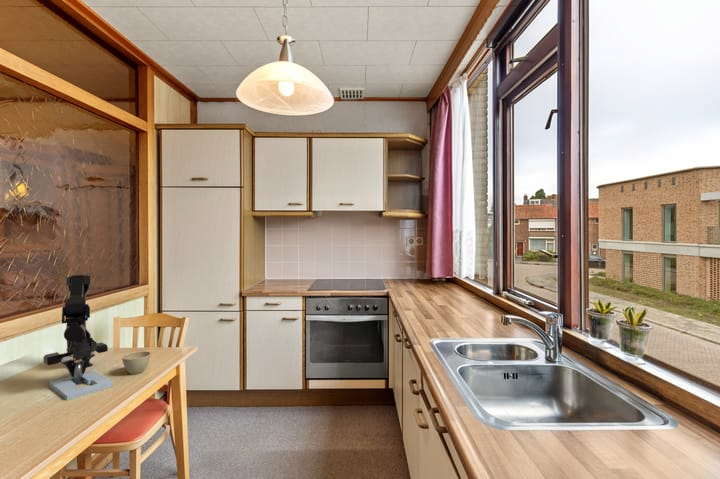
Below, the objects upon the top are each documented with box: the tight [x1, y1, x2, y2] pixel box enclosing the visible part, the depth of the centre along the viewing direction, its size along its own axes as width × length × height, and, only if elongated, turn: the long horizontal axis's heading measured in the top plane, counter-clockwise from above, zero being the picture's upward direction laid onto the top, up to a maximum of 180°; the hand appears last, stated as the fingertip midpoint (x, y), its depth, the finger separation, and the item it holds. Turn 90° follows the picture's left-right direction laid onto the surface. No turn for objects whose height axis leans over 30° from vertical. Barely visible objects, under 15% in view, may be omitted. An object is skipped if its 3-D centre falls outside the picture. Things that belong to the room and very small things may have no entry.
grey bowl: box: [121, 350, 151, 375], centre depth 148 cm, size 10×10×7 cm
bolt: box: [71, 357, 84, 386], centre depth 137 cm, size 4×4×10 cm
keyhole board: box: [49, 369, 114, 401], centre depth 135 cm, size 20×14×2 cm
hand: (77, 375), depth 137 cm, fingers closed on bolt, 3 cm apart
